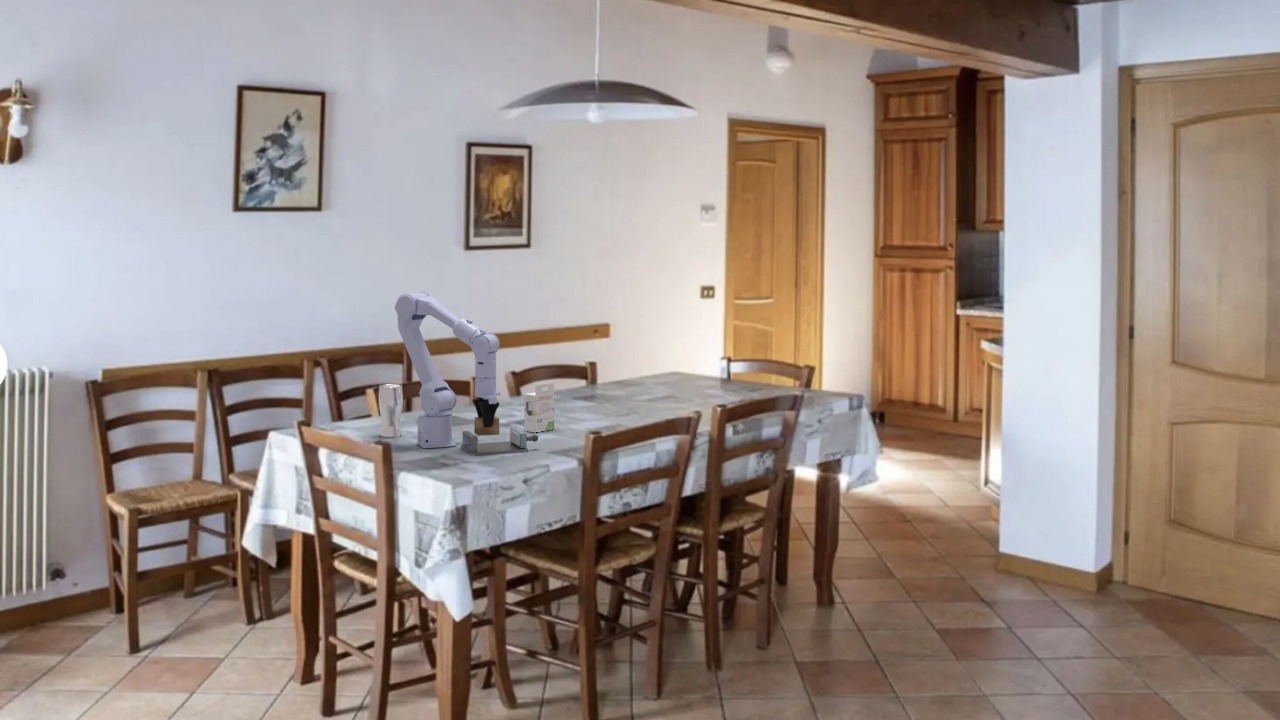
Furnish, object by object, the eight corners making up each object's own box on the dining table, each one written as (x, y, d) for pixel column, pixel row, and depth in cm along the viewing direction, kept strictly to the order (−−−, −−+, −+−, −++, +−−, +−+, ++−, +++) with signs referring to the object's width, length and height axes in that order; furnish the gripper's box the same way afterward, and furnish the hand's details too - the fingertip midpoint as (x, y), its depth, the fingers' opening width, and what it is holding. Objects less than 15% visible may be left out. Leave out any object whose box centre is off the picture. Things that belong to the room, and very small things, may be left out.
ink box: (543, 427, 354) (543, 380, 352) (554, 429, 351) (555, 382, 349) (523, 431, 347) (523, 383, 345) (535, 433, 344) (535, 385, 342)
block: (478, 435, 315) (478, 419, 315) (474, 433, 319) (474, 417, 318) (499, 434, 318) (499, 418, 317) (495, 432, 321) (495, 416, 321)
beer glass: (374, 435, 337) (373, 385, 335) (394, 432, 342) (393, 383, 340) (388, 439, 332) (387, 388, 330) (407, 435, 337) (407, 385, 335)
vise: (472, 455, 311) (472, 438, 310) (460, 447, 322) (460, 430, 321) (528, 451, 317) (528, 434, 317) (515, 443, 328) (515, 427, 328)
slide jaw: (519, 448, 317) (519, 433, 317) (508, 441, 326) (508, 427, 326) (539, 446, 320) (539, 432, 319) (528, 440, 329) (528, 426, 328)
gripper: (507, 380, 311) (507, 429, 313) (492, 373, 324) (492, 420, 326) (482, 381, 308) (482, 430, 310) (468, 374, 321) (468, 421, 323)
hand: (485, 425), depth 318 cm, fingers closed on block, 4 cm apart
